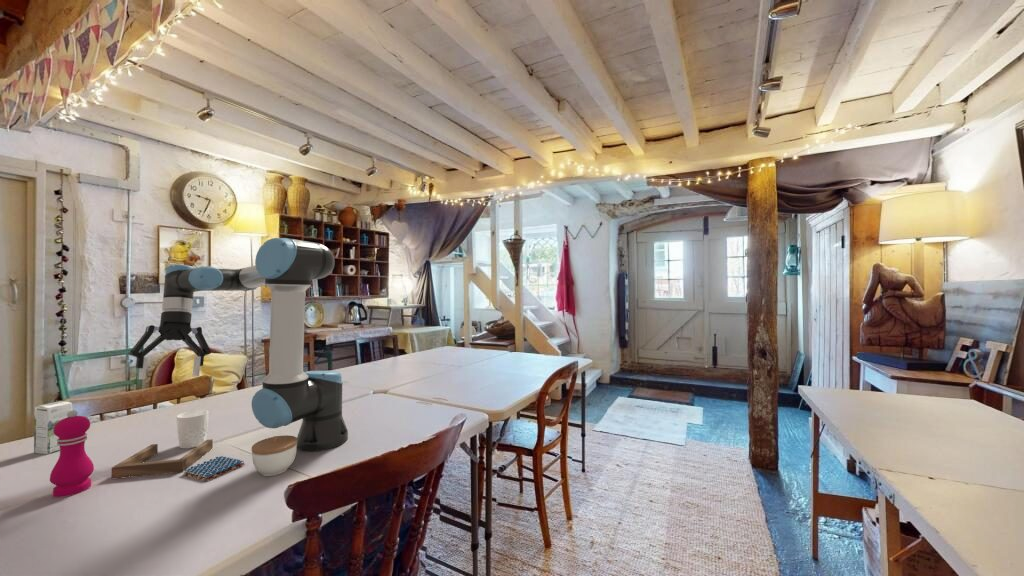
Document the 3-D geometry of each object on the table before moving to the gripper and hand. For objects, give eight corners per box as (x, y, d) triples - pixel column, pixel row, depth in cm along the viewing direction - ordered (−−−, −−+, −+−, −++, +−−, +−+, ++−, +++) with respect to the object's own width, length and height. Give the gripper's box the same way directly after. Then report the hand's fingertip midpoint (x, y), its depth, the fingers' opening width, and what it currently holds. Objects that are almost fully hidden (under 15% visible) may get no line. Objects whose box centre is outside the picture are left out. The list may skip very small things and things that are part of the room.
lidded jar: (242, 476, 102) (242, 441, 102) (279, 459, 112) (279, 427, 112) (269, 483, 98) (269, 447, 98) (306, 465, 108) (306, 432, 108)
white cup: (190, 450, 118) (190, 418, 118) (170, 448, 120) (170, 416, 120) (214, 440, 126) (214, 410, 126) (195, 438, 128) (195, 409, 128)
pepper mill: (53, 501, 90) (52, 417, 90) (46, 493, 94) (46, 412, 94) (97, 488, 96) (97, 408, 96) (90, 480, 100) (89, 404, 100)
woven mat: (206, 484, 99) (206, 476, 99) (180, 477, 102) (180, 470, 102) (247, 466, 108) (247, 459, 108) (222, 461, 112) (222, 454, 112)
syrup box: (58, 445, 122) (58, 400, 122) (72, 447, 121) (72, 401, 121) (33, 453, 117) (33, 406, 117) (47, 454, 116) (47, 407, 116)
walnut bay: (151, 454, 116) (151, 444, 116) (212, 448, 119) (212, 439, 119) (111, 479, 101) (111, 467, 101) (182, 471, 104) (182, 461, 104)
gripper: (215, 315, 138) (210, 375, 134) (120, 310, 116) (111, 381, 112) (225, 313, 134) (221, 374, 130) (130, 307, 113) (121, 380, 109)
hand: (170, 377), depth 121 cm, fingers open, 13 cm apart
